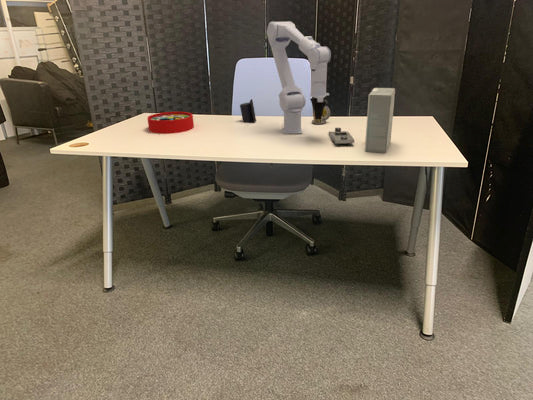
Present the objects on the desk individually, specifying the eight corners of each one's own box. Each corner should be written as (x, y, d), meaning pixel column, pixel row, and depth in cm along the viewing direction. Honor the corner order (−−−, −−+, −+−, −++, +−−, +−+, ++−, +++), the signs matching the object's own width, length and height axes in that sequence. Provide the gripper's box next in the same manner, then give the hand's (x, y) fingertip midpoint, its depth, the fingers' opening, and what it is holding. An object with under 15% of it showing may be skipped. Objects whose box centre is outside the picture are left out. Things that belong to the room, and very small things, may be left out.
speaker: (260, 120, 189) (257, 98, 185) (254, 123, 184) (251, 101, 180) (246, 120, 192) (243, 99, 188) (240, 123, 188) (237, 101, 184)
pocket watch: (310, 124, 179) (310, 102, 175) (314, 120, 187) (314, 99, 183) (327, 125, 177) (328, 102, 173) (331, 121, 184) (332, 99, 180)
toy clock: (188, 110, 188) (196, 118, 171) (189, 122, 191) (197, 131, 173) (145, 114, 182) (149, 122, 165) (147, 126, 184) (151, 136, 167)
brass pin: (313, 120, 154) (313, 105, 151) (321, 120, 154) (321, 105, 151) (313, 122, 151) (314, 107, 149) (322, 122, 151) (322, 106, 148)
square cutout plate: (328, 134, 161) (328, 127, 160) (345, 134, 161) (345, 126, 160) (335, 146, 145) (335, 138, 144) (354, 146, 145) (354, 138, 144)
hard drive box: (370, 140, 152) (374, 87, 144) (390, 142, 149) (396, 88, 141) (363, 151, 139) (368, 93, 131) (386, 153, 136) (392, 94, 128)
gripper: (332, 83, 140) (330, 121, 145) (326, 79, 153) (325, 114, 158) (312, 84, 140) (311, 122, 145) (308, 79, 153) (308, 114, 158)
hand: (317, 118), depth 152 cm, fingers closed on brass pin, 3 cm apart
